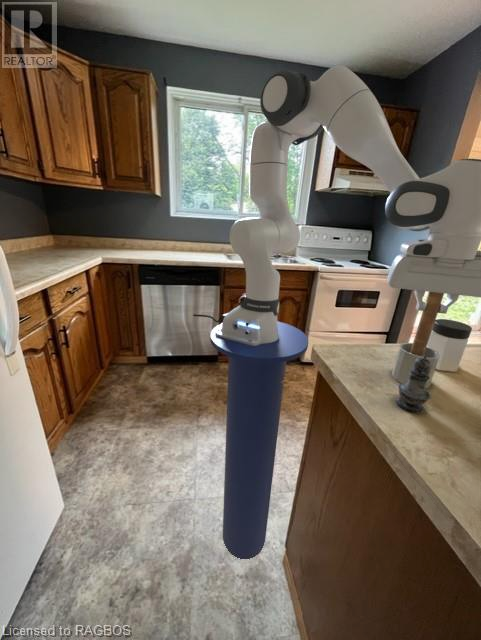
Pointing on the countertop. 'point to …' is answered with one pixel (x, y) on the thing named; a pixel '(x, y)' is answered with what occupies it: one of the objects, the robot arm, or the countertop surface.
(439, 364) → the jar
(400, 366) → the tin
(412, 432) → the countertop surface
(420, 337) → the stick
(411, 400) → the grey stone figurine
